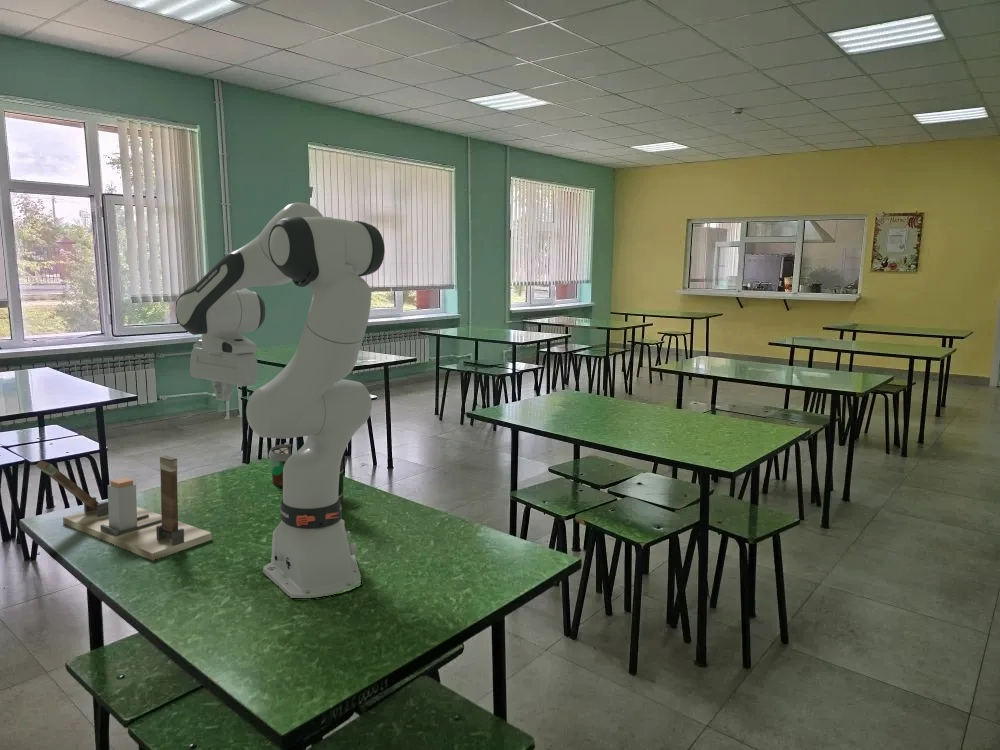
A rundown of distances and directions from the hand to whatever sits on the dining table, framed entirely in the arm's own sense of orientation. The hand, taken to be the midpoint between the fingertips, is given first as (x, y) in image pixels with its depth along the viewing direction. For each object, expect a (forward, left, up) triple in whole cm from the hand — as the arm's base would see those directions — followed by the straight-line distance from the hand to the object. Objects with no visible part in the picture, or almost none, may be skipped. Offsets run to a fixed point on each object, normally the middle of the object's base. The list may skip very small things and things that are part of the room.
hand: (222, 400), depth 160 cm
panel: (-3, +19, -29) cm, 35 cm away
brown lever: (-16, +13, -26) cm, 33 cm away
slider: (-4, +22, -27) cm, 35 cm away
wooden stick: (+9, +27, -26) cm, 38 cm away
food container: (+22, -18, -29) cm, 41 cm away
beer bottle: (-6, -24, -29) cm, 38 cm away
